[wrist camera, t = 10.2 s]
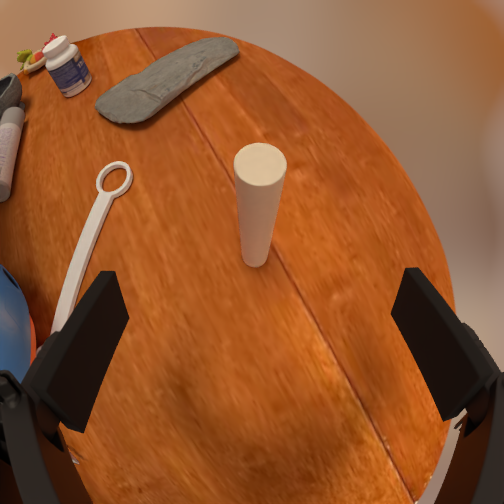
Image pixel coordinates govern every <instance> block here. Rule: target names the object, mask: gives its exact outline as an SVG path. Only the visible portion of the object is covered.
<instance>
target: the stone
mask: <svg viewBox="0 0 504 504" xmlns="http://www.w3.org/2000/svg"><path fill="white" fill-rule="evenodd" d="M238 53H239V49H238V46H237V44H236V43H235V42H233V41H232V40H231V39H229V38H225V37H218V38H216V37H214V38H206V39H201V40H199V41H196V42H193V43H190V44H188V45H186V46H184V47H182V48H180V49H177V50H175V51H174V52H172V53H170V54H168V55H166V56H164V57H162V58H161V59H158V60H157V61H155V62H154V63H152V64H150V65H149V66H148V67H147V68H145V69H144V70H143V71H142V72H140V73H139V74H136V75H130V76H129V77H127V78H126V79H124V80H123V81H121V82H119V83H118V84H117V85H115V86H114V87H112V88H111V89H109V90H108V91H107V92H105V93H104V94H103V95H101V96H100V97H99V98H98V99H97V101H96V104H95V109H96V110H98V111H99V113H101V114H102V115H103V116H105V117H107V118H108V119H109V120H111V121H113V122H118V123H123V122H125V123H137V122H141V121H144V120H146V119H147V118H150V117H151V116H153V115H154V114H155V113H157V112H158V111H159V110H160V109H162V108H163V107H164V106H165V105H167V104H168V103H169V102H170V101H171V100H173V99H174V98H175V97H177V96H178V95H179V94H180V93H181V92H183V91H184V90H186V89H187V88H188V87H190V86H191V85H193V84H194V83H195V82H197V81H198V80H200V79H201V78H202V77H204V76H205V75H207V74H208V73H210V72H211V71H213V70H214V69H216V68H217V67H219V66H220V65H222V64H223V63H225V62H227V61H228V60H230V59H231V58H233V57H234V56H236V55H237V54H238Z"/></svg>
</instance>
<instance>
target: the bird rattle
mask: <svg viewBox="0 0 504 504" xmlns="http://www.w3.org/2000/svg"><path fill="white" fill-rule="evenodd" d="M56 38H58V37H57V36H56V37H55V35H54V34H53V33H52V35H51V38H50V41H49V42H45V46H46V45H48V44H49V43H50V42H51V41H53V40H54V39H56ZM44 48H45V47H43V48H42V49H40V50H38V51H36V52H35V53H34V54H32V51H31V50H24V51H20V52H18V53H17V54H20V55H19V56H18V57H17V61H18V62H23V65H22V67H21V68H20V70H22V69H23V68H24V74H25V75H27V74H29V73H30V72H33V71H35V70H37V69H39V68H41V67H42V66H43V65H45V64H46V61H47V58H45V56H44V54H43V52H42V51H43V49H44Z"/></svg>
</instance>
